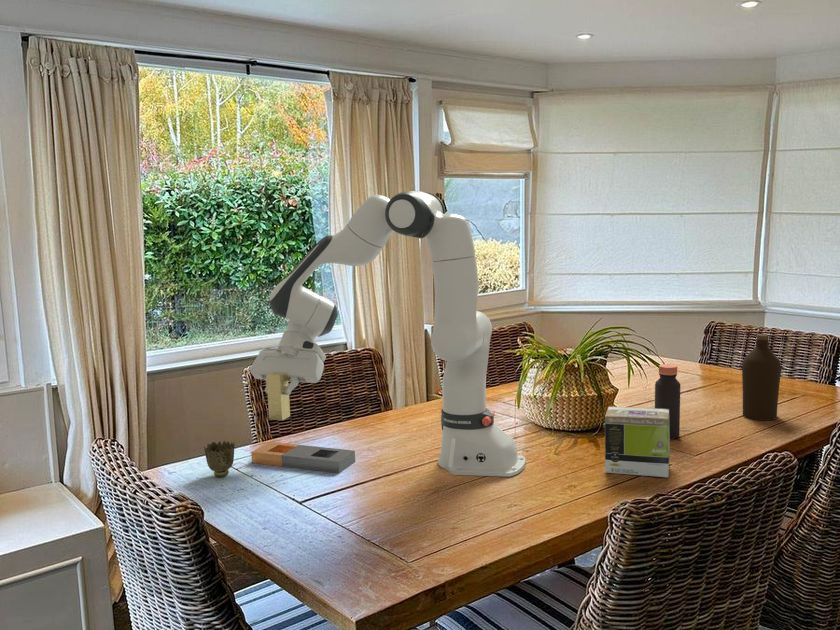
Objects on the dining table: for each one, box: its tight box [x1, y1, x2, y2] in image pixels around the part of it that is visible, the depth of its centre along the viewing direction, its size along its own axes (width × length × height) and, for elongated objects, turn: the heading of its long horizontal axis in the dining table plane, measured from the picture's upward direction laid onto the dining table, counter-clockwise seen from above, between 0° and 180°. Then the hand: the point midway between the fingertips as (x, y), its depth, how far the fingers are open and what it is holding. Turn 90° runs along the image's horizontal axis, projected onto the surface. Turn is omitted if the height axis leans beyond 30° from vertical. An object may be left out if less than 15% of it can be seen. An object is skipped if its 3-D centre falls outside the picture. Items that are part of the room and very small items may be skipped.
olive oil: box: [741, 333, 782, 421], centre depth 227 cm, size 11×11×25 cm
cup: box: [203, 440, 236, 478], centre depth 191 cm, size 8×7×8 cm
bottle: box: [654, 363, 681, 440], centre depth 212 cm, size 7×7×20 cm
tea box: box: [604, 405, 670, 479], centre depth 186 cm, size 15×10×15 cm
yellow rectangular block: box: [267, 372, 291, 421], centre depth 200 cm, size 4×4×12 cm
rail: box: [250, 441, 356, 474], centre depth 200 cm, size 26×9×3 cm, turn 68°
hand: (277, 393), depth 199 cm, fingers closed on yellow rectangular block, 4 cm apart
